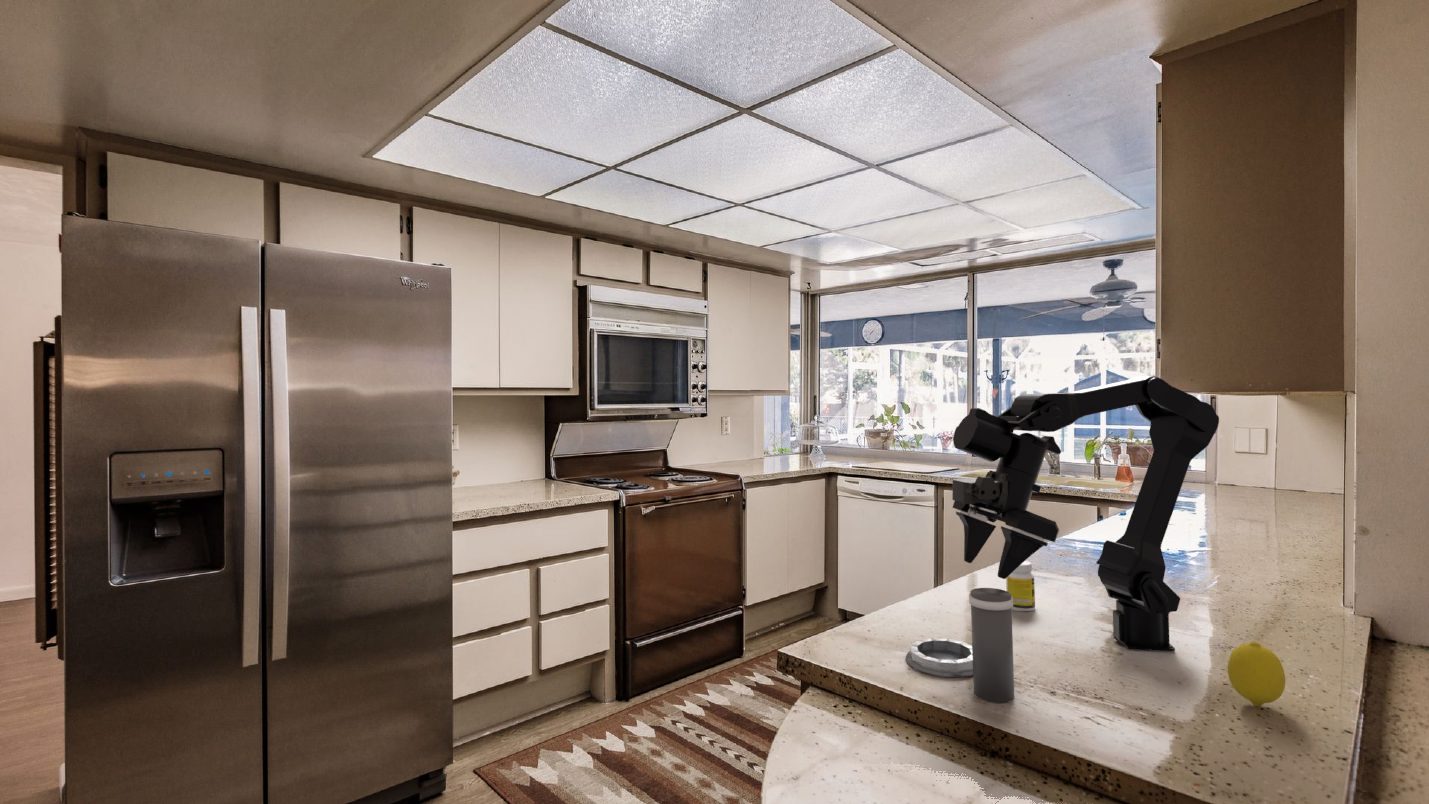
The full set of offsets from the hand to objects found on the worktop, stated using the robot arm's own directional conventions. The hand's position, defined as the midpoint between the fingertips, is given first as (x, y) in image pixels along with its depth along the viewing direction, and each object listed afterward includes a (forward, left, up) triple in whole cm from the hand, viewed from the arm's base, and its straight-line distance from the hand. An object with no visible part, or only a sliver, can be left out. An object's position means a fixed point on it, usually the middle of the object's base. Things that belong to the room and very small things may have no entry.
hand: (983, 569), depth 98 cm
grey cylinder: (+1, +12, -13) cm, 18 cm away
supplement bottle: (-11, -25, -14) cm, 30 cm away
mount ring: (+6, +2, -13) cm, 15 cm away
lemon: (-30, +11, -14) cm, 34 cm away
